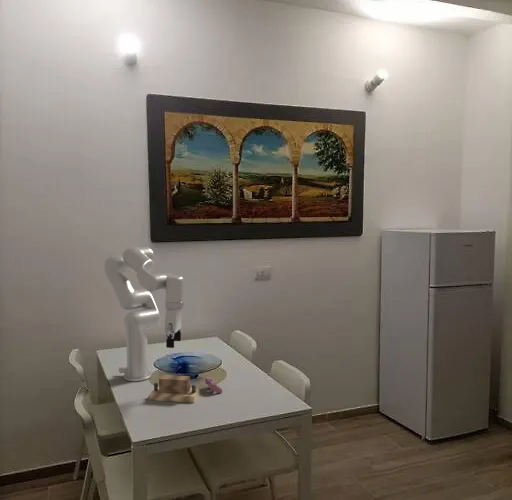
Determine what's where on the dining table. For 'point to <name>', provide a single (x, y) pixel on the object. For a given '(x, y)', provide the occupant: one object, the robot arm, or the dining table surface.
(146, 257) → the robot arm
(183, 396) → the peg stand
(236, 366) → the dining table surface
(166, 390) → the walnut bar
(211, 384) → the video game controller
